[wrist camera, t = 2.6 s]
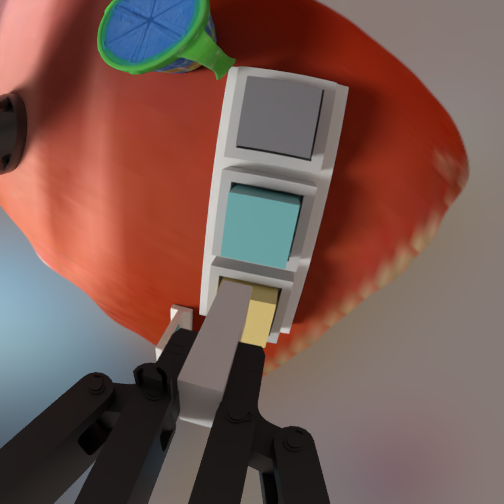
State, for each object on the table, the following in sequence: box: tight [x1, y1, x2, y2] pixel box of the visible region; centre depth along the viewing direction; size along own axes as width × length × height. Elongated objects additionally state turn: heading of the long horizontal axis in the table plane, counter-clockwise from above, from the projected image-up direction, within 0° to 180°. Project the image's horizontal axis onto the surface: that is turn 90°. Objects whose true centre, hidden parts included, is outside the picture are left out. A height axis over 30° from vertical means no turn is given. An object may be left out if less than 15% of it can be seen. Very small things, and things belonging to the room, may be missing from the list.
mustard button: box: [216, 277, 278, 348], centre depth 30 cm, size 6×6×4 cm
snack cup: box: [97, 0, 236, 80], centre depth 19 cm, size 16×10×10 cm
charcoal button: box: [236, 76, 323, 159], centre depth 21 cm, size 6×6×4 cm
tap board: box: [199, 66, 349, 343], centre depth 28 cm, size 12×30×5 cm, turn 171°
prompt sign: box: [156, 304, 193, 360], centre depth 35 cm, size 3×6×9 cm, turn 171°
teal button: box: [220, 184, 300, 269], centre depth 26 cm, size 6×6×4 cm
